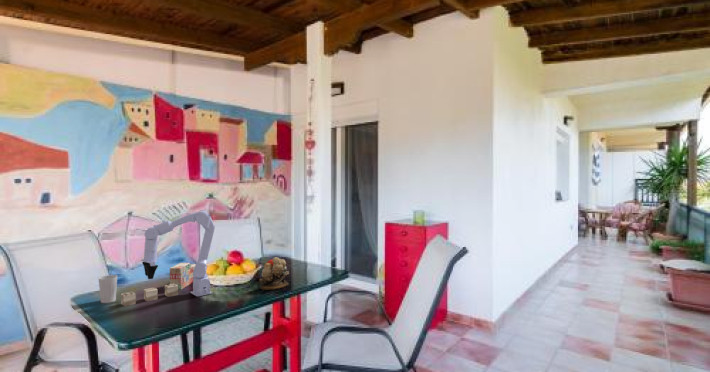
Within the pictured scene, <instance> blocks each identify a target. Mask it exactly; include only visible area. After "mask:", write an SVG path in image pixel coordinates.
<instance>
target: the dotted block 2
mask: <svg viewBox="0 0 710 372" xmlns="http://www.w3.org/2000/svg"><path fill="white" fill-rule="evenodd" d="M164 295H165V296H166V297H168V298H169V297H174V296H178V295H179V290H178V285H176V284H170V283H169V284H166V285H164Z"/></svg>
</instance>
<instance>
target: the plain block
mask: <svg viewBox="0 0 710 372" xmlns="http://www.w3.org/2000/svg"><path fill="white" fill-rule="evenodd" d="M143 299H145V300H144V301H146V302H151V301H155V300H158V299H159V293H158V289H157V288H156V287H148V288H145V289H143Z"/></svg>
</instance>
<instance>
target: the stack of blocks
mask: <svg viewBox="0 0 710 372" xmlns="http://www.w3.org/2000/svg"><path fill="white" fill-rule="evenodd" d="M196 264H197V263H196ZM196 264H195V263H193V264H192V263H191V262H179V263H177V264H175V265H173V266H171V267H169V285H170V284H176V285H178V291H179V290H182V289H184V288H187V286H189V285H191V284H193V276H194V274H193V271H194V268H195V265H196Z"/></svg>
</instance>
